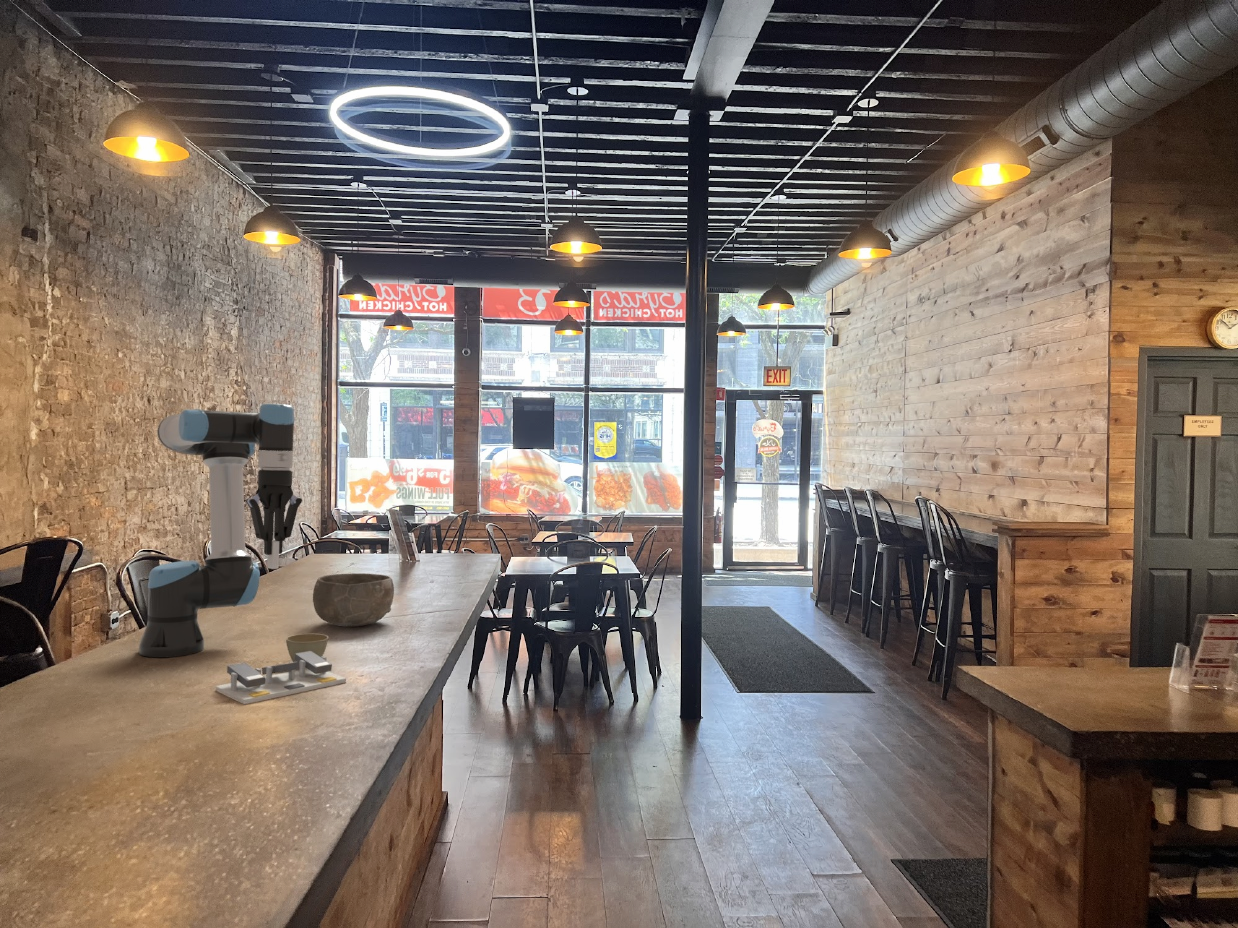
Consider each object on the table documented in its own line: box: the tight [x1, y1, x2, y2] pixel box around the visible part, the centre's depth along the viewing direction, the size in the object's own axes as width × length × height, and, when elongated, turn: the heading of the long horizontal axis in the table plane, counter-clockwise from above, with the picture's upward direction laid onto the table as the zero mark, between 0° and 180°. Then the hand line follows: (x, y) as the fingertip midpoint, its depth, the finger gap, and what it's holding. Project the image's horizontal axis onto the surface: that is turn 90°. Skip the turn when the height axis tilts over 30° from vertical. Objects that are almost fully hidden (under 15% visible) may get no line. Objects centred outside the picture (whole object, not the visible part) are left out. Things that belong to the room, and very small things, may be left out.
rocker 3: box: [294, 651, 333, 674], centre depth 192 cm, size 10×4×2 cm, turn 50°
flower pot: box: [285, 633, 329, 669], centre depth 203 cm, size 10×10×7 cm
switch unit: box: [215, 655, 347, 705], centre depth 185 cm, size 14×24×5 cm, turn 140°
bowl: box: [312, 572, 395, 627], centre depth 251 cm, size 24×24×15 cm
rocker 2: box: [261, 661, 300, 676], centre depth 186 cm, size 10×4×2 cm, turn 50°
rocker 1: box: [226, 662, 266, 688], centre depth 180 cm, size 10×4×2 cm, turn 50°
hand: (272, 568), depth 191 cm, fingers closed
